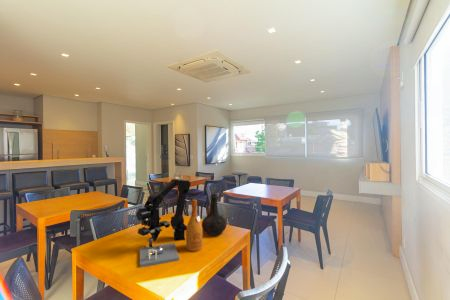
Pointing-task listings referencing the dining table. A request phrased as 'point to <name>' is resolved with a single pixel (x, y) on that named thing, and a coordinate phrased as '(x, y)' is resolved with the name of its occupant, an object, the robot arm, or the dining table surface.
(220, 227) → the glass bottle
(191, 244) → the brown tall rounded piece
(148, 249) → the stand
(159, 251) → the grey metal rounded piece
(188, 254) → the dining table surface
